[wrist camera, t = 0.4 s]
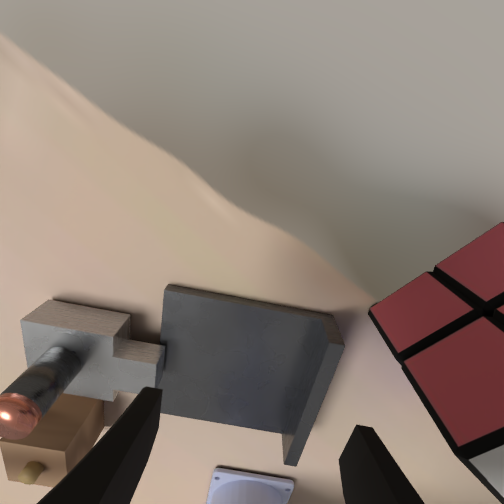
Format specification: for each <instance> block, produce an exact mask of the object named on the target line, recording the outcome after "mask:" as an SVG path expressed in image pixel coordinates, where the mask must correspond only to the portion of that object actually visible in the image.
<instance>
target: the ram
mask: <svg viewBox="0 0 504 504" xmlns="http://www.w3.org/2000/svg"><path fill="white" fill-rule="evenodd" d="M130 317H131V314H125V313H120V312H114V311H109V310H103V309H98V308H92V307H87V306H81V305H76V304H71V303H65V302H60V301H54V300H47V301H46V302H45V303H43V304H42V305H40V306H39V307H38V308H36V309H35V310H34V311H32V312H31V313H29V314H28V315H27V316H25V317H24V318H23V319H21V320H20V322H21V328H22V335H23V341H24V347H25V354H26V360H27V367H28V369H27V370H26V371H25V372H23V373H22V374H21V375H20V376H19V377H18V378H17V379H16V380H15V381H14V382H13V383H12V384H11V385H10V386H9V387H8V388H7V389H6V390H5V391H4V392H2V393H1V394H0V437H3V438H7V439H13V440H18V439H23V438H25V437H27V436H28V435H29V434H30V433H31V431H32V430H33V429H34V428H35V426H36V425H37V424H38V423H39V421H40V420H41V419H42V418H43V417H44V415H45V414H46V413H47V412H48V410H49V409H50V408H51V407H52V405H53V404H54V403H55V402H56V400H57V399H58V398H59V397H60V395H61V394H62V393H66V394H72V395H77V396H83V397H89V398H95V399H101V400H107V401H112V402H113V401H114V399H115V398H116V396H117V394H118V393H119V391H125V392H131V393H137V394H139V392H140V391H141V390H142V388H144V387H146V386H147V387H153V388H158V386H159V384H160V381H161V379H162V377H163V367H164V356H165V346H162V345H157V344H151V343H146V342H140V341H135V340H130Z"/></svg>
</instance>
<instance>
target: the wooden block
mask: <svg viewBox="0 0 504 504" xmlns="http://www.w3.org/2000/svg"><path fill="white" fill-rule="evenodd" d="M103 428H104V400H101V399H95V398H89V397H83V396H77V395H72V394H66V393H62V394H61V395H60V397H59V398H58V399H57V400H56V402H55V403H54V404H53V405H52V407H51V408H50V409H49V410H48V412H47V413H46V414H45V415H44V417H43V418H42V419H41V420H40V421H39V423H38V424H37V425H36V426H35V428H34V429H33V430H32V431H31V433H30V434H29V435H28V436H27V437H25V438H23V439H18V440H13V439H7V438H3V437H2V438H1V439H0V447H1V452H2V456H3V460H4V464H5V468H6V473H7V477H8V480H10V481H17V482H22V483H24V484H29V485H30V484H36V485H42V486H48V487H55V486H56V485H57V484H58V483H59V482H60V481H61V480H62V479H63V478H64V477H65V476H66V475H67V474H68V473H69V472H70V471H71V470H72V469H73V468H74V467H75V466H76V465H77V464H78V463H79V461H80V460H81V459H82V458H83V457H84V456H85V455H86V454H87V453H88V452H89V451H90V450H91V449H92V447H93V446H94V444H95V442H96V440H97V438H98V437H99V435H100V433H101V431H102V430H103Z"/></svg>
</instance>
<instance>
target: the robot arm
mask: <svg viewBox="0 0 504 504" xmlns="http://www.w3.org/2000/svg"><path fill="white" fill-rule="evenodd" d="M162 392H163V389H158V388H153V387H147V386H146V387H144V388H142V390H141V391H140V392H139V394H138V395H137V396H136V398H135V399H134V400H133V402H132V403H131V404H130V405H129V407H128V408H127V409H126V410H125V412H124V413H123V414H122V415H121V416H120V418H119V419H118V420H117V421H116V422H115V423H114V425H113V426H112V427H111V428H110V429H109V430H108V431H107V432H106V434H105V435H104V436H103V437H102V438H101V439H100V440H99V441H98V442H97V444H96V445H95V446H94V447H93V448H92V449H91V450H90V451H89V452H88V453H87V454H86V455H85V456H84V457H83V458H82V459H81V460H80V461H79V463H78V464H77V465H76V466H75V467H74V468H73V469H72V470H71V471H70V472H69V473H68V474H67V475H66V476H65V477H64V478H63V479H62V480H61V481H60V482H59V483H58V484H57V485H56V486H55V487H54V488H53V489H52V490H51V491H50V492H49V493H48V494H46V495H45V496H44V497H43V498H42V499H41V500H40V501H39V502H38V503H37V504H130V502H131V499H132V497H133V495H134V492H135V490H136V488H137V485H138V483H139V481H140V478H141V476H142V473H143V471H144V469H145V466H146V464H147V462H148V459H149V456H150V453H151V450H152V447H153V444H154V441H155V437H156V434H157V431H158V428H159V420H160V411H161V401H162ZM339 466H340V473H341V481H342V487H343V494H344V499H345V503H346V504H425V503H424V502H423V500H422V499H421V498H420V496H419V495H418V493H417V492H416V491H415V489H414V488H413V486H412V485H411V483H410V482H409V481H408V479H407V478H406V476H405V475H404V473H403V472H402V470H401V469H400V467H399V466H398V464H397V463H396V462H395V460H394V459H393V457H392V456H391V454H390V453H389V451H388V450H387V448H386V447H385V445H384V444H383V442H382V441H381V439H380V438H379V436H378V435H377V433H376V432H375V431H374V429H373V428H372V427H367V426H361V425H356V426H355V428H354V430H353V432H352V434H351V436H350V438H349V440H348V442H347V444H346V446H345V448H344V450H343V452H342V454H341V456H340V458H339ZM293 489H294V482H293V481H292V480H290V479H284V478H277V477H271V476H265V475H259V474H253V473H247V472H241V471H235V470H229V469H223V468H215V469H214V470H213V475H212V479H211V484H210V488H209V493H208V497H207V502H206V504H287V503H288V501H289V498H290V496H291V493H292V491H293Z"/></svg>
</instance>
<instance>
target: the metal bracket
mask: <svg viewBox="0 0 504 504" xmlns="http://www.w3.org/2000/svg"><path fill="white" fill-rule="evenodd" d="M160 345H162V346H165V356H164V367H163V377H162V379H161V381H160V384H159V386H158V389H163V392H162V401H161V411H160V413H164V414H170V415H175V416H181V417H187V418H193V419H199V420H205V421H210V422H216V423H222V424H228V425H234V426H240V427H246V428H251V429H257V430H263V431H269V432H275V433H281V434H282V445H283V460H284V465H290V466H297V464H298V461H299V459H300V456H301V454H302V451H303V449H304V446H305V444H306V441H307V439H308V436H309V434H310V432H311V429H312V427H313V424H314V422H315V419H316V417H317V414H318V412H319V409H320V407H321V404H322V402H323V400H324V397H325V395H326V392H327V390H328V387H329V385H330V382H331V380H332V377H333V375H334V372H335V370H336V367H337V365H338V363H339V360H340V358H341V355H342V353H343V350H344V348H345V344H344V342H343V339H342V337H341V334H340V332H339V329H338V327H337V324H336V322H335V319H334V317H333V315H329V314H324V313H318V312H313V311H308V310H302V309H297V308H292V307H286V306H281V305H276V304H270V303H265V302H260V301H254V300H249V299H244V298H238V297H233V296H228V295H222V294H217V293H212V292H206V291H201V290H196V289H190V288H185V287H180V286H174V285H169V284H168V285H167V287H166V288H165V290H164V299H163V311H162V324H161V336H160Z"/></svg>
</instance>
